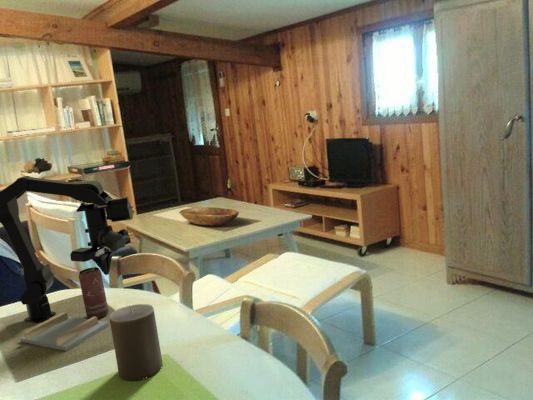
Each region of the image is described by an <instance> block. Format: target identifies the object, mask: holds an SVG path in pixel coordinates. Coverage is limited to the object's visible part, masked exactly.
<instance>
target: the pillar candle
mask: <svg viewBox="0 0 533 400" xmlns="http://www.w3.org/2000/svg"><path fill="white" fill-rule="evenodd" d="M109 326H110V331H111V336H112V337H111V338H112V342H113V348H114V353H115V359H116V364H117V365H116V367H117V372H118V376H119V378H121V379H122V380H124V381H125V380H126V381H139V380H140V381H141V380H144V379H143V378H146V377H148V378H150V377H152V376H154V375H156V374H157V373H159V372H160V371H161V370H162V368H163V367H164V366H163V365H164V363H163V358H162V351H161V345H160V339H159V333H158V326H157V321H156V315H155V308H154V306H153V305H151V304H146V303H145V304H143V303H140V304H139V303H138V304H132V305H128V306H124V307H120V308H117V309H116V310H115V311H113V312H111V314H110V315H109ZM161 367H162V368H161ZM160 369H161V370H160ZM159 370H160V371H159ZM158 371H159V372H158ZM149 376H150V377H149ZM146 379H147V378H146Z"/></svg>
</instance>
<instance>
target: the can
mask: <svg viewBox="0 0 533 400" xmlns="http://www.w3.org/2000/svg"><path fill="white" fill-rule="evenodd" d="M78 273H79V274H78V279H79V285H80V290H81V294H82V295H81V296H82V301H83V305H84V309H85V314H86V317H87V319H90V318H92V317H94V316H95V317H97V319H98V320H101V319H103V318H105V317H106V316H107V315H108V314H109V306H108V305H109V304H108V301H107V295H106V290H105V285H104V281H103V276H102V271H101V269H100V268H99V267H98V266H97V267H96V266H94V267H89V268H84V269H82V270H81V271H79V272H78Z"/></svg>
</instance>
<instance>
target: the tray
mask: <svg viewBox="0 0 533 400" xmlns="http://www.w3.org/2000/svg"><path fill="white" fill-rule="evenodd" d="M109 326H110V321H103V320H99V319H97V317H95V316H94V317H92V318H90V319H89V318H83V317H76V316H70V315H68V312H67V311H66V312H65V311H63V312H61V313H60V314H58V315H56V316H54V317H53V316H52V317H51V318H50V319H48V320H46V321H44V322H41V323H40V324H38V325H36V326H34V327H33V328H30V329H28V330H26V331H24V332H23V333H24V336H22V337H20V343H24V344H30V345H34V346H39V347H40V346H41V347H44V348H51V349H57V350H60V351H65V352H67V351H69V350H71V349H73V348H74V347H75V346H77V345H79V344H81V343H82V342H84V341H85V340H87V339H89V338H91V337H92V336H94V335H95V334H98V333H99V332H101V331H103V330H104V329H106V328H108V327H109Z"/></svg>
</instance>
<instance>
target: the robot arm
mask: <svg viewBox="0 0 533 400" xmlns="http://www.w3.org/2000/svg"><path fill="white" fill-rule="evenodd" d="M26 192H30V193H40V194H46V195H55V196H61V197H62V196H64V197H68V198H71V199H73V200H75V201H78V202H81V203H80V205H79V206H78V208H77V209H76V210H75V211H76V213H80V212H84V216H85V222H86V227H87V228H85V229H84V231H85V234H88V236H89V237H88V238H89V242H87V246H88V247H79V248H77V249H74V250H72V251H71V252H70V254H69V258H70V260H71V262H78V263H79V262H82V263H85V262H89V261H90V260H92V261H93V262H94V263H95V264H96V265H97V268H99V269H100V271H101V273H103V274H104V276H105V275H106V276H107V275H109V274H110V270H111V263H112V259H113V256H114V254H116V252H118V250H120V249H123V248H125V247H126V245H128V244H130V243H132V241H131V236H130V235H129V231H128V229H126V228H123V229H120V230H119V231H118V230H117V231H114V230H113V227H112V225H110V224H108V220H109V221H111V222H112V223H116V222H123V221H131V220H133V218H134V211H133V206H132V204H131V201H130V198H129V196H124V197H123V196H122V197H119V198H114V199H113V197H111V195H109V194H108V193H107V192H106V191H105V190H104V187H103V185H102V184H101V182H99V181H97V180H82V181H63V180H57V179H50V178H49V179H48V178H40V177H32V176H29V175H23V176H20V177H18V178H17V179H16V180H15V181H14V182H12V183H11V184H10V185H8V186H6V187H5V188H3V189H2V190H0V224H1V225H2V227H3V228H4V231H5V233H6V235H7V237H8V238H7V239H8V240H9V242H10V243H11V246H12V249H13V250H14V252H15V254H16V256H17V258H18V261H19V263H20V265H21V266H22V270H23V282H24V285H25V290H24V292H23V293H22V295H20V297H19V301H20V302H21V304H22V305H26V306H25V307H26V310H27V315H28V316H27V317H26V318H24V321H25V322H30V323H37V324H39V323H42V322H43V321H45V320H47V319H48V318H50V317H51V318H52V317H53V316H54V315H56V314H57V313H56V312H55V311H52V309H51V303H50V301H49V298H48V296H47V294H48V293H49V291H50V288H51V286H53V283H54V276H55V274H54V273H53V271H52V269H51V265H50V264H49V263H47V264H43V263H42V262H41V261H40V260H39V257H38V256H37V254H36V252H35V249H34V247H33V245H32V243H31V241H30V239H29V236H28V234H27V233H26V230H25V227H24V226H23V223H22V221H21V219H20V215H19V214H20V213H19V204H18V203H19V202H18V199H20V198H21V197H22V196H23V195H24V194H25V193H26Z"/></svg>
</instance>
